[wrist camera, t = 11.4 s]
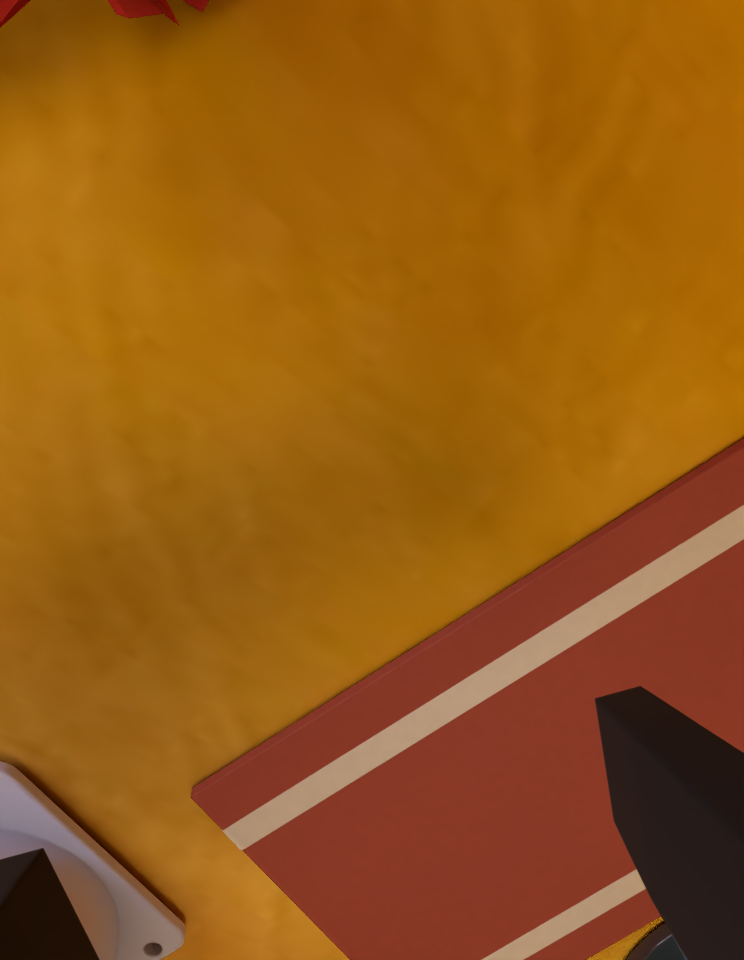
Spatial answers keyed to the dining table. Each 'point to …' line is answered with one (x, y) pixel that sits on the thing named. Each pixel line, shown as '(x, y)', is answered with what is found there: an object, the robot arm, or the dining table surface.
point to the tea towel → (503, 748)
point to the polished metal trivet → (658, 946)
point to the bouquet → (4, 3)
